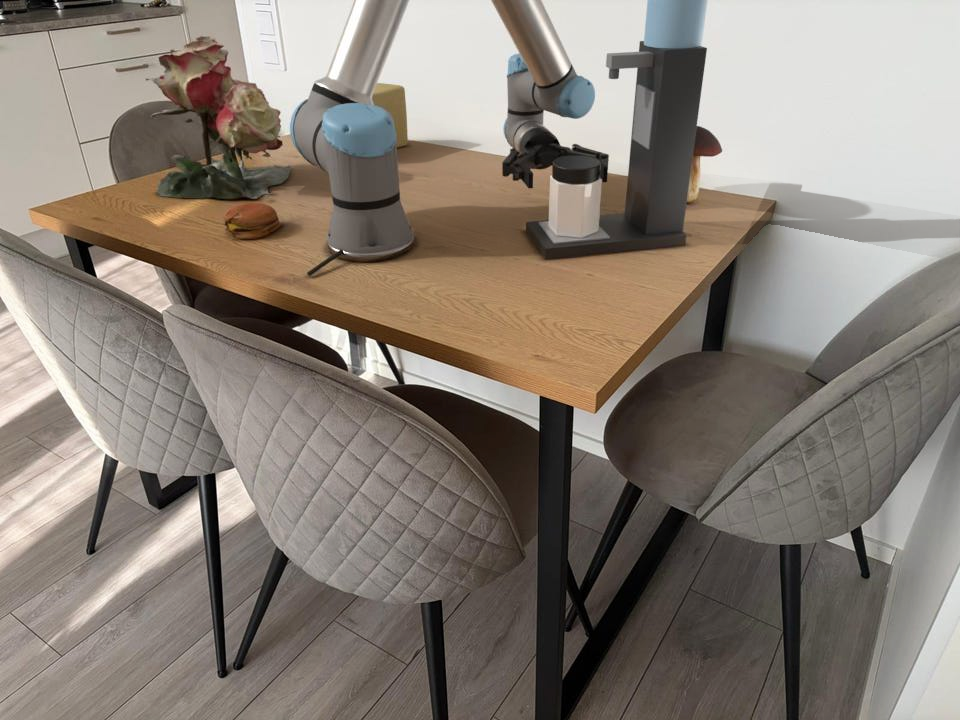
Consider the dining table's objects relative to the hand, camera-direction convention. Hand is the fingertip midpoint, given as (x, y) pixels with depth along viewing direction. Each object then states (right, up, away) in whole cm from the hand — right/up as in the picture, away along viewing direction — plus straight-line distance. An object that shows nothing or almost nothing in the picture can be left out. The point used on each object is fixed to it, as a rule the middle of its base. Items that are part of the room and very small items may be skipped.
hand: (568, 177), depth 128 cm
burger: (-58, -8, +10) cm, 60 cm away
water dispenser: (+7, -10, +3) cm, 13 cm away
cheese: (-44, +19, +54) cm, 72 cm away
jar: (+1, -9, +1) cm, 9 cm away
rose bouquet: (-70, +8, +36) cm, 80 cm away
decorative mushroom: (+26, 0, +19) cm, 32 cm away
